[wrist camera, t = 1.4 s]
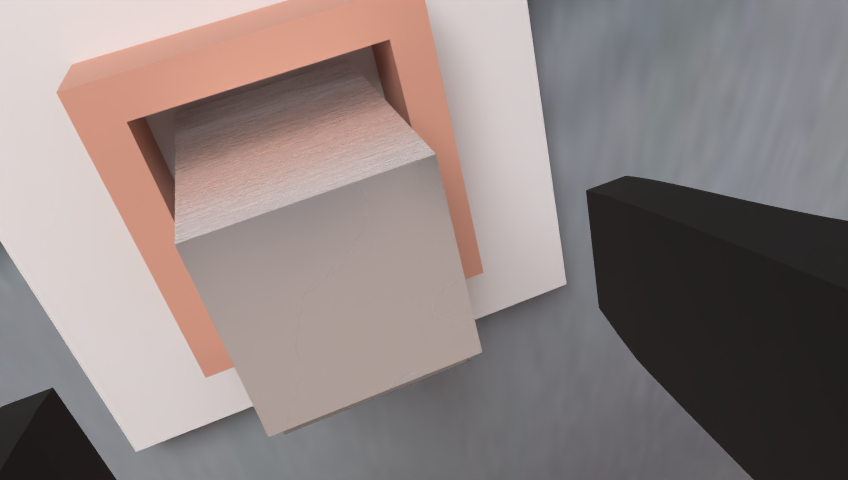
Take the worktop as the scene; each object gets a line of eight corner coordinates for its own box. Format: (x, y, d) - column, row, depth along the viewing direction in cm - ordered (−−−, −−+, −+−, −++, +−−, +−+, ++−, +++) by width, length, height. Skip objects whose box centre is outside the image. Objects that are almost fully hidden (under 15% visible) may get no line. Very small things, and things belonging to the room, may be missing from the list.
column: (392, 217, 16) (484, 363, 11) (243, 269, 16) (274, 448, 11) (347, 59, 14) (435, 154, 9) (175, 113, 14) (174, 243, 9)
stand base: (549, 266, 20) (617, 337, 17) (137, 425, 18) (130, 535, 15) (475, -221, 14) (560, -249, 11) (-163, -57, 12) (-279, -34, 9)
